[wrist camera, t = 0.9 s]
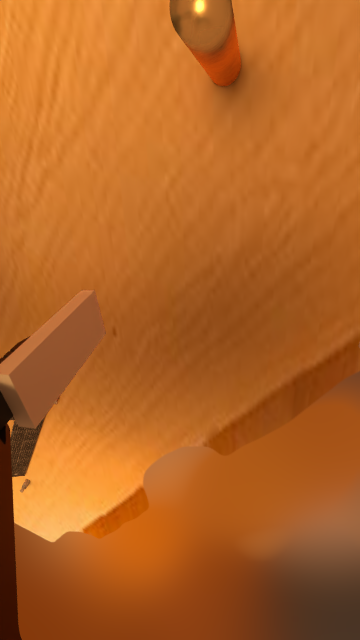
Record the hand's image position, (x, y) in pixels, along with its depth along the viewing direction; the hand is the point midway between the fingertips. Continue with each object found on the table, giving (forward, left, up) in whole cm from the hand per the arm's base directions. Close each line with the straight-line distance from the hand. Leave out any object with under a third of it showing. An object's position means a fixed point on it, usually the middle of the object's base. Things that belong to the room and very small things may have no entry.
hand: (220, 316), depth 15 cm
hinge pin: (-8, +11, -24) cm, 27 cm away
